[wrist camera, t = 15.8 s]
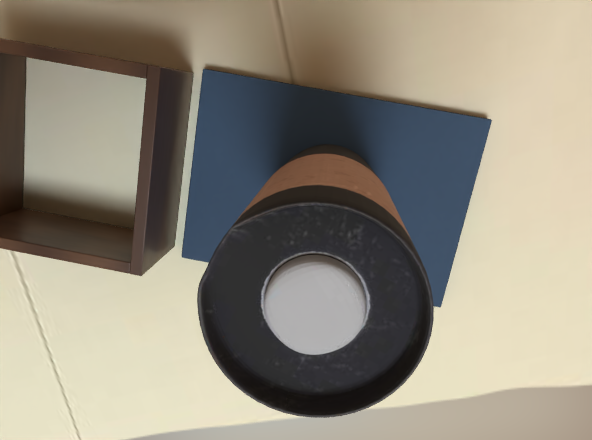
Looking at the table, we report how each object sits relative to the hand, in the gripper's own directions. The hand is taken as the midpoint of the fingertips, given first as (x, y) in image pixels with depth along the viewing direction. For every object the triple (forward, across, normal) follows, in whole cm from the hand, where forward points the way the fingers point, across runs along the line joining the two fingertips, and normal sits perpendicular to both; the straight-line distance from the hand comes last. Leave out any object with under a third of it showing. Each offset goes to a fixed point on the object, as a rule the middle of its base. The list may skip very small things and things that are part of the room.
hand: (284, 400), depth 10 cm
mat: (+26, +1, 0) cm, 26 cm away
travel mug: (+25, +1, 0) cm, 25 cm away
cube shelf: (+26, -17, 0) cm, 31 cm away
